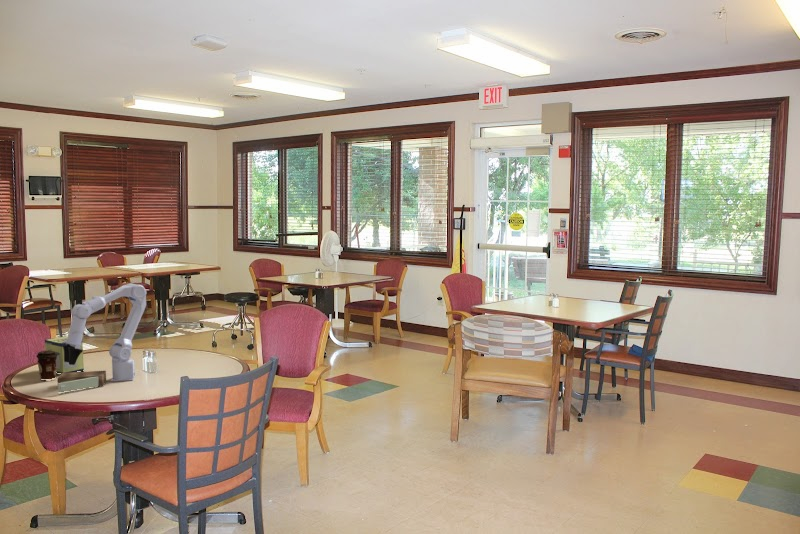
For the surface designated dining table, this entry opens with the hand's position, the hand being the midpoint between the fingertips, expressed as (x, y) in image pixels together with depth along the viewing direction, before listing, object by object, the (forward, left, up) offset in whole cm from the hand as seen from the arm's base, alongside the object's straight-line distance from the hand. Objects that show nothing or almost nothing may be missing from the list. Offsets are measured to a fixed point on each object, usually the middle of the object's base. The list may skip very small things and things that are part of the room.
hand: (69, 363), depth 290 cm
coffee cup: (+13, -19, -12) cm, 26 cm away
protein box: (+9, -34, -12) cm, 37 cm away
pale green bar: (-4, +4, -11) cm, 13 cm away
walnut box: (-4, -5, -11) cm, 13 cm away
